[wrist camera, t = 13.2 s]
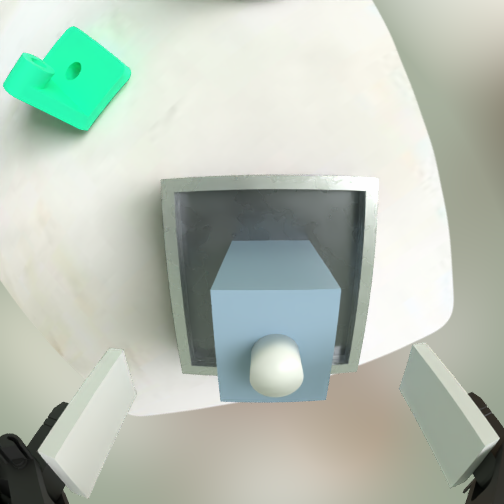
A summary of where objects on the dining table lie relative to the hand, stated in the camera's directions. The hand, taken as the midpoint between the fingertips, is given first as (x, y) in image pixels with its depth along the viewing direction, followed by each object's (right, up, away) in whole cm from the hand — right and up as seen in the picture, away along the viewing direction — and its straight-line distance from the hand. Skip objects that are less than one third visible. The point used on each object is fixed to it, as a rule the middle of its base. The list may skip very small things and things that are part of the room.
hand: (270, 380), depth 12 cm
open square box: (+1, +4, +17) cm, 17 cm away
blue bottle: (+1, +3, +12) cm, 12 cm away
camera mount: (-19, +25, +12) cm, 34 cm away
